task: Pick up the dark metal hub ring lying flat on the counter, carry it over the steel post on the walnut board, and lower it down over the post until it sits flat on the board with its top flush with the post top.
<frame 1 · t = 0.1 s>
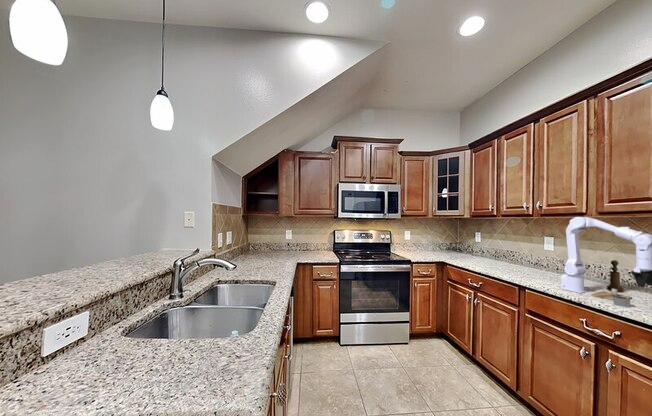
hand: (645, 286, 127), 10 cm above the counter, tool pointing down, fingers open, 7 cm apart
hub ring: (621, 305, 129), on the counter
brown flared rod: (615, 291, 153), on the counter
post board: (611, 297, 141), on the counter
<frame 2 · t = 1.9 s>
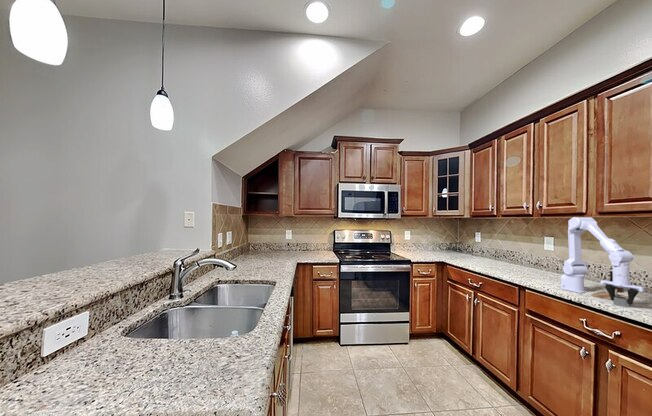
hand: (621, 302, 129), 1 cm above the counter, tool pointing down, fingers closed on hub ring, 5 cm apart
hub ring: (621, 305, 129), on the counter, touching gripper
everything else where it was.
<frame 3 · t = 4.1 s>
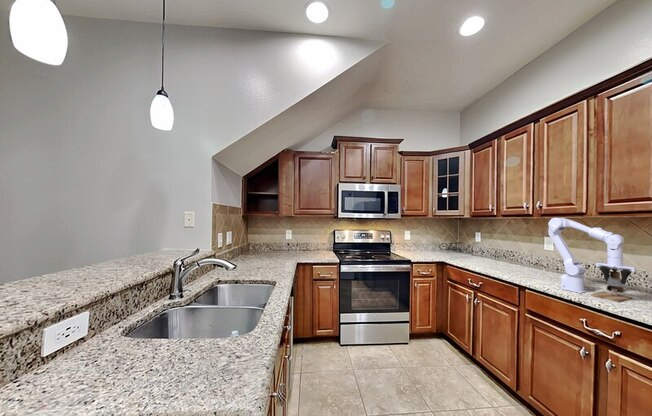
hand: (615, 282, 138), 9 cm above the counter, tool pointing down, fingers closed on hub ring, 5 cm apart
hub ring: (615, 285, 138), point 7 cm above the counter, touching gripper
everything else where it was.
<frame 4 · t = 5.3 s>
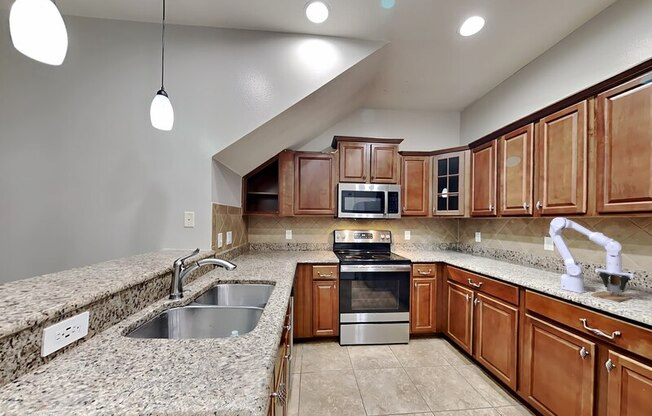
hand: (614, 288, 141), 5 cm above the counter, tool pointing down, fingers closed on hub ring, 5 cm apart
hub ring: (614, 291, 140), point 3 cm above the counter, touching gripper
everything else where it was.
when the fingers open (3 cm above the counter, at t = 6.3 s): hub ring stays where it is, resting on post board.
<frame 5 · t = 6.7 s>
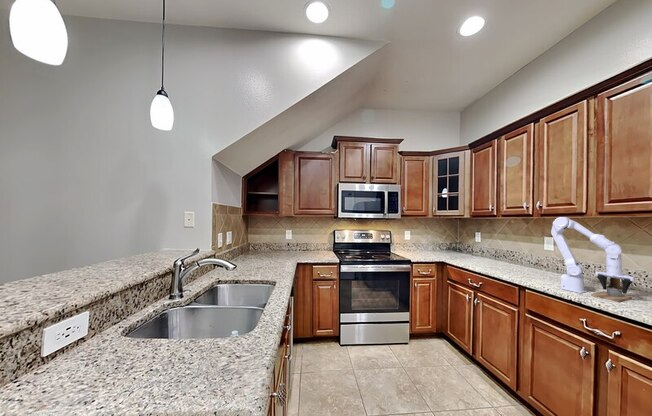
hand: (614, 291, 141), 3 cm above the counter, tool pointing down, fingers open, 7 cm apart
hub ring: (614, 295, 140), point 1 cm above the counter, touching post board
everything else where it was.
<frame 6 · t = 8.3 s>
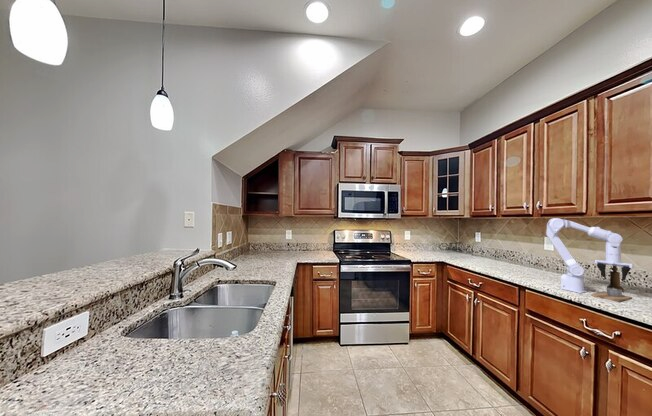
hand: (613, 278, 144), 9 cm above the counter, tool pointing down, fingers open, 7 cm apart
nothing on the counter moved.
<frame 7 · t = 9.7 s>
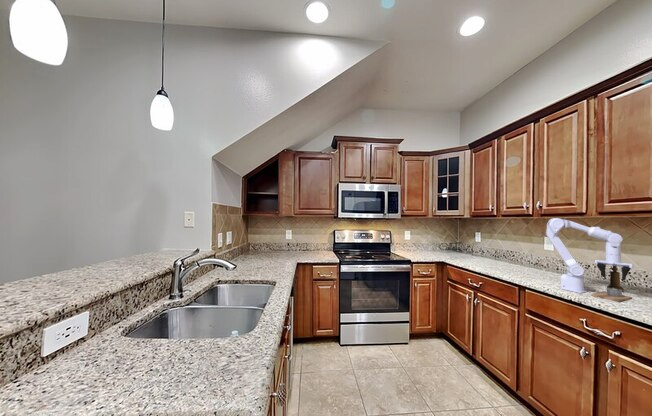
hand: (613, 278, 144), 9 cm above the counter, tool pointing down, fingers open, 7 cm apart
nothing on the counter moved.
at the end: hub ring 0.3 cm from the target spot on the post board, point 1.0 cm above the post board's base; hub ring tilted 0°; the gripper is holding nothing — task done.
